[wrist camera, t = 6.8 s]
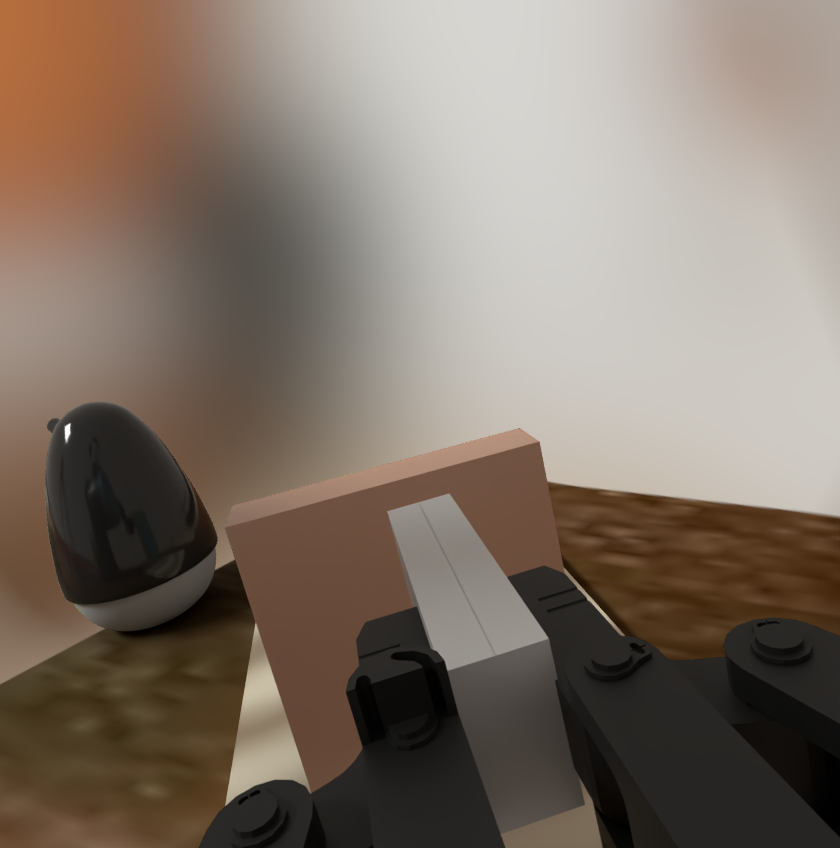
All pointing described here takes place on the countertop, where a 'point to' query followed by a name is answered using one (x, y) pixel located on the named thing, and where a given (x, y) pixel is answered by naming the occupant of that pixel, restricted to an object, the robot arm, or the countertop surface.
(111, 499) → the black glossy egg shape
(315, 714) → the tile
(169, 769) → the countertop surface
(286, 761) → the cloth
